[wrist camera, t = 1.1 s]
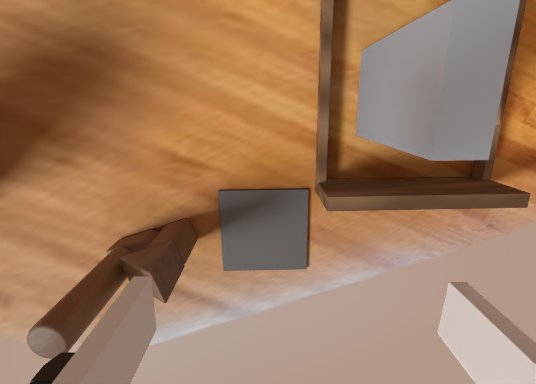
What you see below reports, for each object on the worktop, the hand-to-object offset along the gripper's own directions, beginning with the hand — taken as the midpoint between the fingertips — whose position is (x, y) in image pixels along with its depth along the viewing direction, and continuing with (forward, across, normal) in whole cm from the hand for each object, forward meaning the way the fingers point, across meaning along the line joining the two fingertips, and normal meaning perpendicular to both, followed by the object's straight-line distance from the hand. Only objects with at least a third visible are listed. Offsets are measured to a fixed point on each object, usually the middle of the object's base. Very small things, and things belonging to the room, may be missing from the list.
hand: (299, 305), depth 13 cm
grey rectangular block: (+27, +12, +10) cm, 31 cm away
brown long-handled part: (+27, -16, -10) cm, 33 cm away
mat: (+27, -1, -8) cm, 29 cm away
